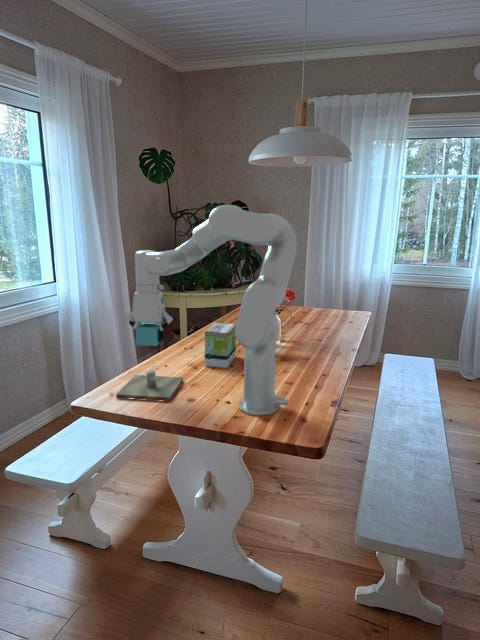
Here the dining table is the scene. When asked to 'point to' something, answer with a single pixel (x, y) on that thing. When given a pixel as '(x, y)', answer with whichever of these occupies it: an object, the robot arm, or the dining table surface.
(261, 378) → the robot arm
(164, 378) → the post board
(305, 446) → the dining table surface
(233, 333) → the tea box
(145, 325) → the collar
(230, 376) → the dining table surface
